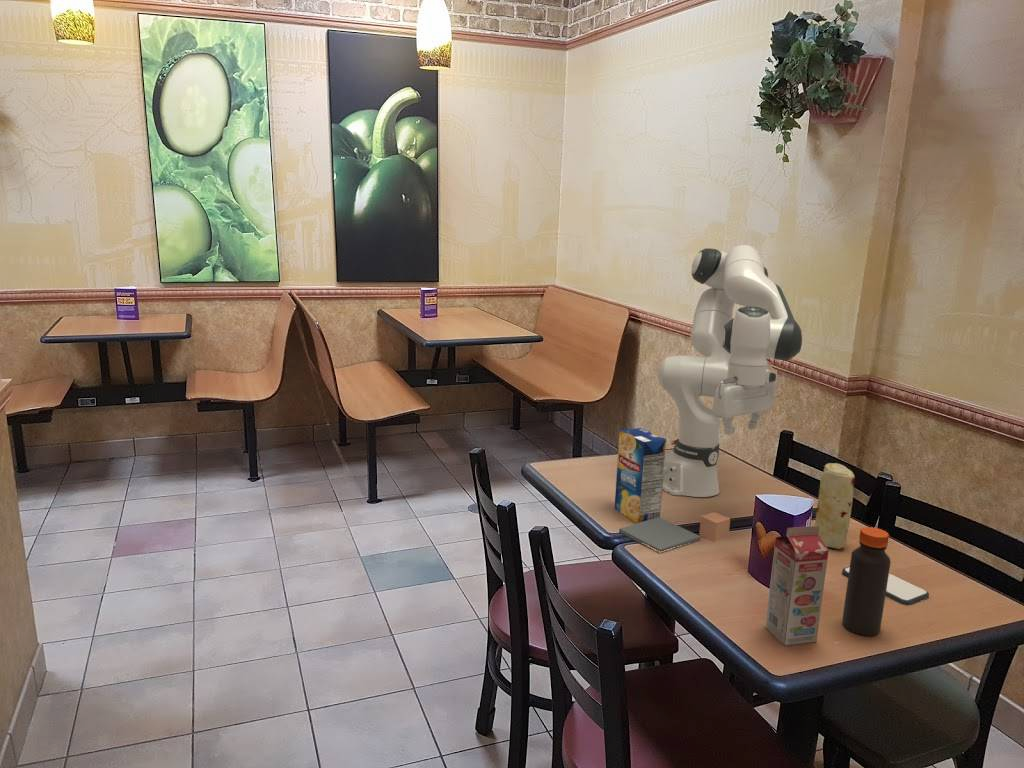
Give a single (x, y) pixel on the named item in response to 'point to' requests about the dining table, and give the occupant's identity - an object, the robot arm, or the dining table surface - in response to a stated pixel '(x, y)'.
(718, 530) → the cube
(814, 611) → the juice carton
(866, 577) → the bottle
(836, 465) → the food model
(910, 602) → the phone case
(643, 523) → the coaster
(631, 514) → the blue tall cardboard box
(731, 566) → the dining table surface
